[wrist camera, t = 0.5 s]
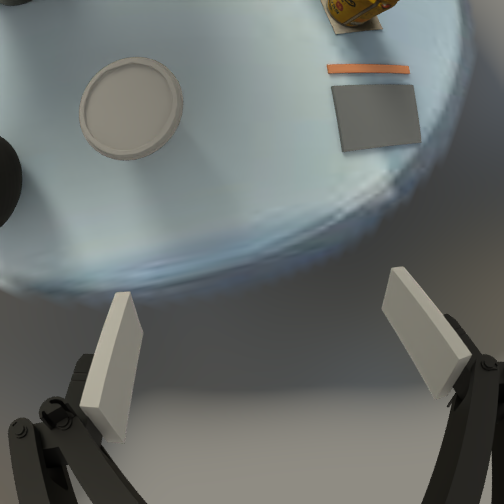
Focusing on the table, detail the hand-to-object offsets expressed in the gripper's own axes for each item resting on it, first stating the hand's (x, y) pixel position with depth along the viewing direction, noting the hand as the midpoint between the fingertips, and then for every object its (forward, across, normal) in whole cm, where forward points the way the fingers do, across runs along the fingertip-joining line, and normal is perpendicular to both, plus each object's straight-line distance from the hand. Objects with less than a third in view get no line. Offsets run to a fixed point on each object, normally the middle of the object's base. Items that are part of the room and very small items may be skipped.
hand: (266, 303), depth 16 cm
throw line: (+31, +20, +13) cm, 39 cm away
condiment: (+33, +18, +22) cm, 43 cm away
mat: (+30, +21, +6) cm, 37 cm away
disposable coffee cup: (+27, -10, +7) cm, 30 cm away
